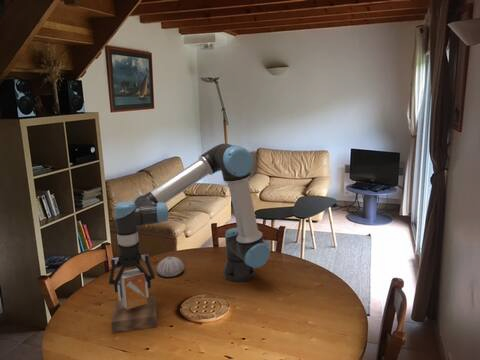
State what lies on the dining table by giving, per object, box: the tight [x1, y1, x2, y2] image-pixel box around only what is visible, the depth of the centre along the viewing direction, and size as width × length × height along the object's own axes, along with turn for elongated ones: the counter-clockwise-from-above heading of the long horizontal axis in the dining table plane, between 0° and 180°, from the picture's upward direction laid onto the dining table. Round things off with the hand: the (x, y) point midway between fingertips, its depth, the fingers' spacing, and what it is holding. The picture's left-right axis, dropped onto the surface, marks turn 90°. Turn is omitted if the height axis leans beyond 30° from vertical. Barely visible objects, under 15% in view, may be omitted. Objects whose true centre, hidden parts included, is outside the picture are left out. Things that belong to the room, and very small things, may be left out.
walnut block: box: [111, 295, 158, 334], centre depth 158 cm, size 16×16×5 cm
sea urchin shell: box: [156, 256, 185, 278], centre depth 198 cm, size 13×14×8 cm
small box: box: [119, 267, 147, 310], centre depth 156 cm, size 8×6×13 cm
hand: (134, 297), depth 157 cm, fingers closed on small box, 10 cm apart
